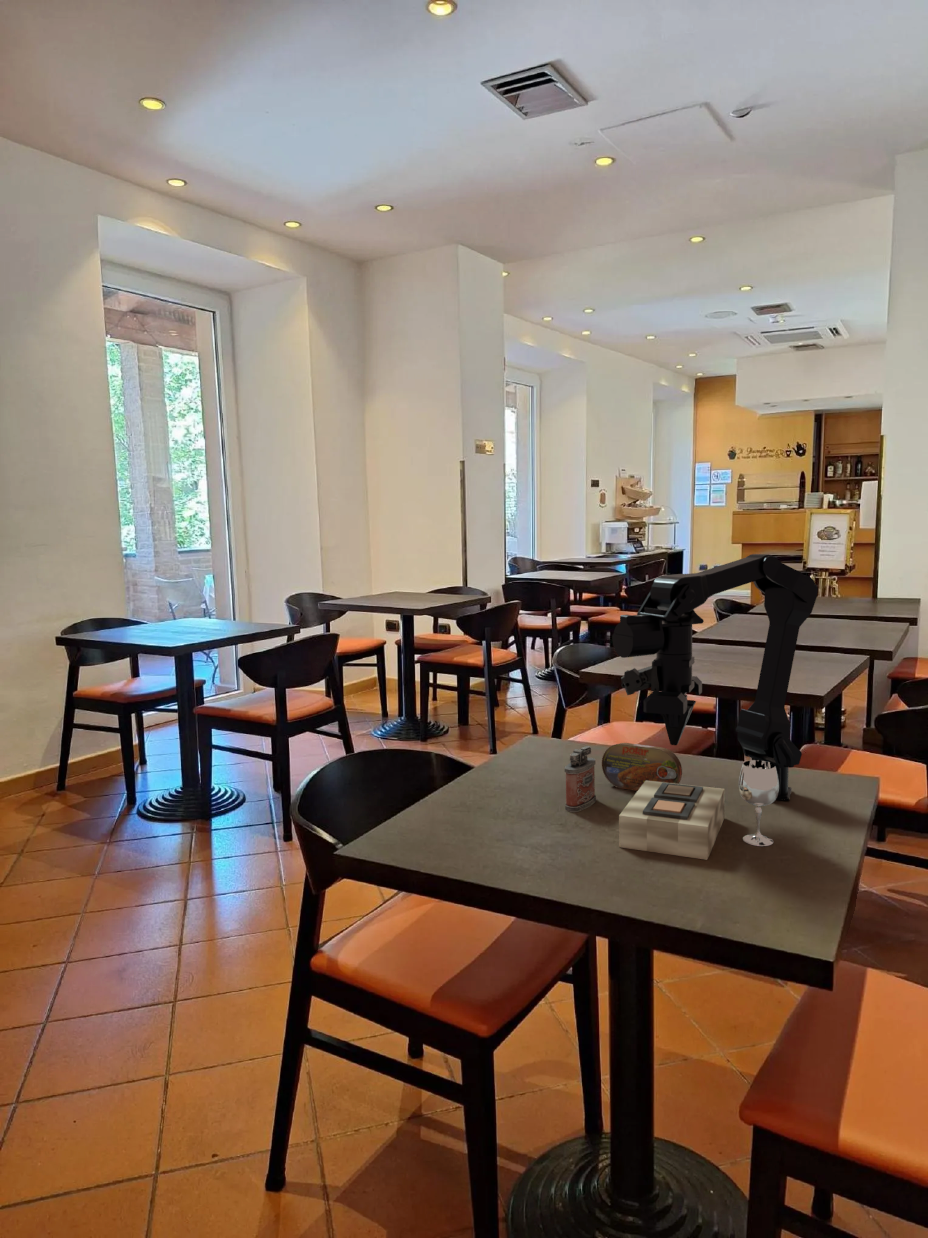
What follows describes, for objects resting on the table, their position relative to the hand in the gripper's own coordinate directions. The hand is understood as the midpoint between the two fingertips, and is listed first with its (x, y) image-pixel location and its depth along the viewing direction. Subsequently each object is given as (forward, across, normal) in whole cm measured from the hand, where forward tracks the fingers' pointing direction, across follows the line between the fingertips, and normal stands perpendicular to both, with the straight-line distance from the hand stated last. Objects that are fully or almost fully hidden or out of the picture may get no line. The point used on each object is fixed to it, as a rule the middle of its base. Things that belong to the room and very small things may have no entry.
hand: (674, 744), depth 135 cm
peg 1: (+12, +4, +2) cm, 13 cm away
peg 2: (+12, +12, +2) cm, 17 cm away
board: (+12, +8, +2) cm, 14 cm away
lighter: (+12, +1, -16) cm, 20 cm away
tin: (+12, -11, -8) cm, 18 cm away
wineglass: (+12, +7, +14) cm, 20 cm away
